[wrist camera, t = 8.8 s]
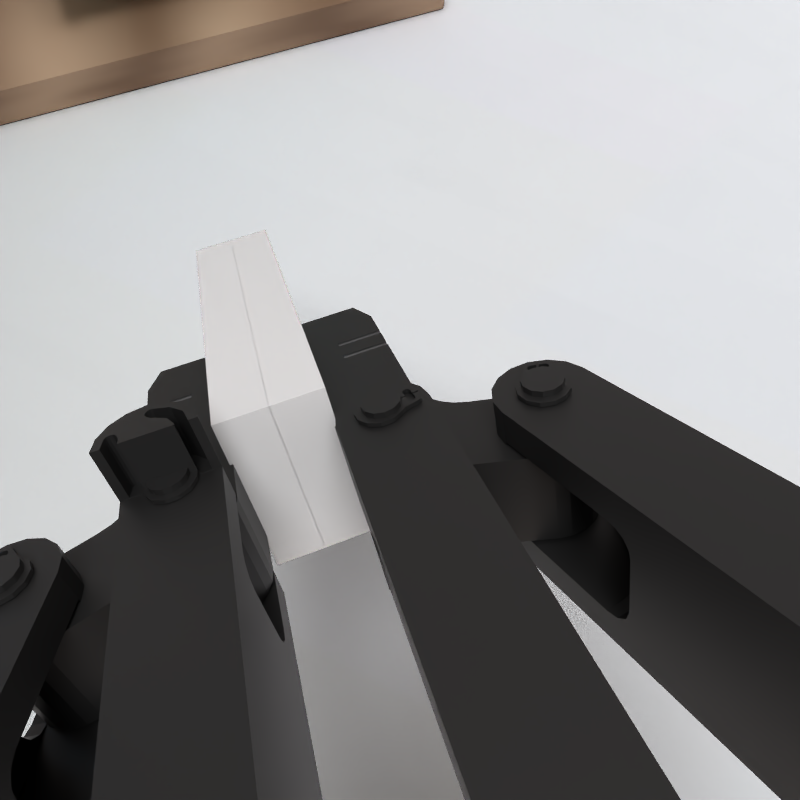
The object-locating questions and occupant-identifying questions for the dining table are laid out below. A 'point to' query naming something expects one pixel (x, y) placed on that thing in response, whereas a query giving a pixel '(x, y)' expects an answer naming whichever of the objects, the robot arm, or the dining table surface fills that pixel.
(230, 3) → the mount
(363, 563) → the dining table surface
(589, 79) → the dining table surface
